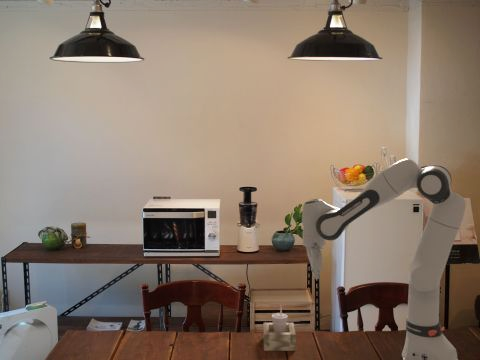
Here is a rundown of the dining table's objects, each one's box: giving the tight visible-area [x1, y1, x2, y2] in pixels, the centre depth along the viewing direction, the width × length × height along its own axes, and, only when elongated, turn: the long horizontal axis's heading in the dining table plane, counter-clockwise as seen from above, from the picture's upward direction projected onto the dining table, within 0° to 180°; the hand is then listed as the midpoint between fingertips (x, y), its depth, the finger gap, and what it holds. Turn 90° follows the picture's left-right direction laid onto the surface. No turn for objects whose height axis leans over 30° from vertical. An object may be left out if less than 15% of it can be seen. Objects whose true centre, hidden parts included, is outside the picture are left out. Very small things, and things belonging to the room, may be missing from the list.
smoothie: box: [271, 304, 289, 332], centre depth 246 cm, size 6×6×14 cm
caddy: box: [262, 322, 296, 352], centre depth 246 cm, size 12×12×6 cm
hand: (315, 274), depth 246 cm, fingers open, 8 cm apart
